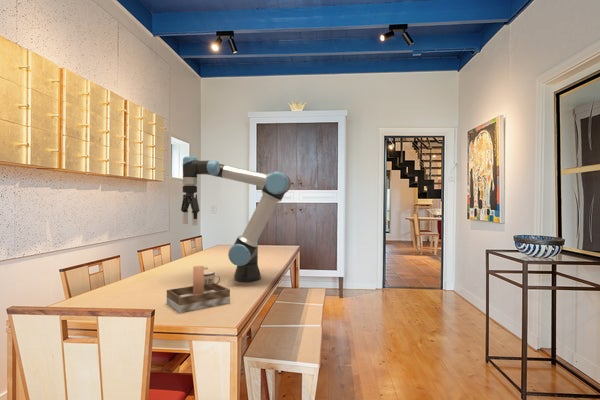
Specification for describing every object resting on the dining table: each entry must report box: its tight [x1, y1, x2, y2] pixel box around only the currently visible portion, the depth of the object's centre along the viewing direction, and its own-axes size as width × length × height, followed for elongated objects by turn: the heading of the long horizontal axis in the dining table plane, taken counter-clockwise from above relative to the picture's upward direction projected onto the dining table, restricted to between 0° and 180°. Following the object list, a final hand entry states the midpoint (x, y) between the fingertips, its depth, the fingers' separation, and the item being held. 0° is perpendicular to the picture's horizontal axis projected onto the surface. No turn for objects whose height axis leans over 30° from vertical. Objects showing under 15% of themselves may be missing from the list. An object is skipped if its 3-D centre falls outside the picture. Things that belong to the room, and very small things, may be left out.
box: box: [166, 282, 231, 314], centre depth 152 cm, size 22×16×6 cm
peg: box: [192, 265, 205, 295], centre depth 152 cm, size 4×4×16 cm
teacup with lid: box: [204, 266, 222, 285], centre depth 175 cm, size 12×9×12 cm
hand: (189, 224), depth 189 cm, fingers open, 13 cm apart
